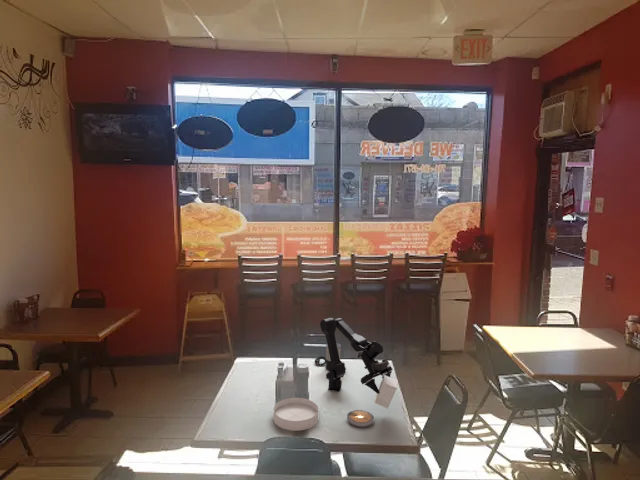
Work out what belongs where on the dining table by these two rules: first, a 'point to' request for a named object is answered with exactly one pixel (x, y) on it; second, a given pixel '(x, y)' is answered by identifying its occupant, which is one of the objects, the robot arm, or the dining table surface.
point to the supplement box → (386, 391)
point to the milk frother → (327, 357)
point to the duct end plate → (360, 418)
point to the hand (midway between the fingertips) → (385, 390)
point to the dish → (295, 414)
